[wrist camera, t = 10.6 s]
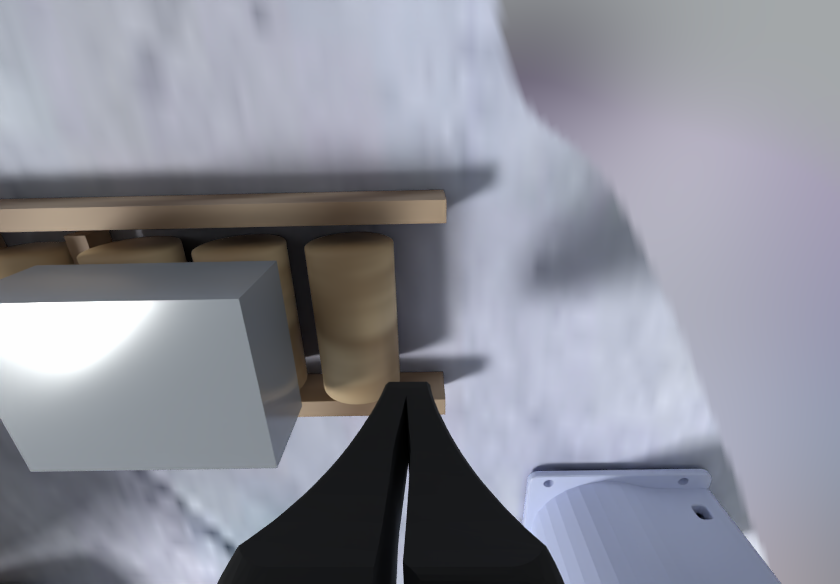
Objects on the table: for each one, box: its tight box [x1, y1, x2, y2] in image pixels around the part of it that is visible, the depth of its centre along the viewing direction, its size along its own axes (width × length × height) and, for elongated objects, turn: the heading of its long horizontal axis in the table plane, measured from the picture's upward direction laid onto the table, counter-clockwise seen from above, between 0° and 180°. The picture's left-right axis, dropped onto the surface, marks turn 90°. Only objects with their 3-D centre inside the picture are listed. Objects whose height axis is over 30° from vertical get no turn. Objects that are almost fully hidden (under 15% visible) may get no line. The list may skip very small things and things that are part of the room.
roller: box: [0, 241, 75, 279], centre depth 16 cm, size 6×3×3 cm, turn 1°
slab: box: [0, 261, 302, 472], centre depth 13 cm, size 8×6×3 cm
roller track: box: [0, 190, 446, 417], centre depth 16 cm, size 19×9×3 cm, turn 91°
